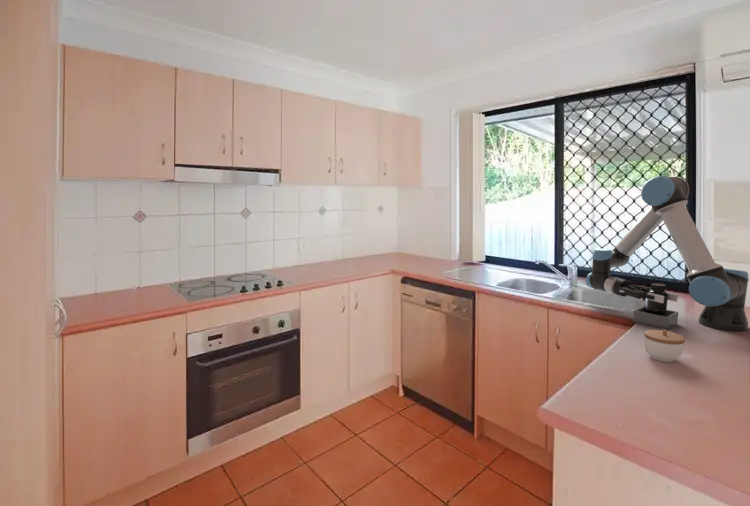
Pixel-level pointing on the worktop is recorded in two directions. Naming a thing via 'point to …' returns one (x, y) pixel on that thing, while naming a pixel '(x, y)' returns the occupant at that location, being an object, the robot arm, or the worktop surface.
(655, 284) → the supplement bottle
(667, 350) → the lidded jar
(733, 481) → the worktop surface
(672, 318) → the bin
